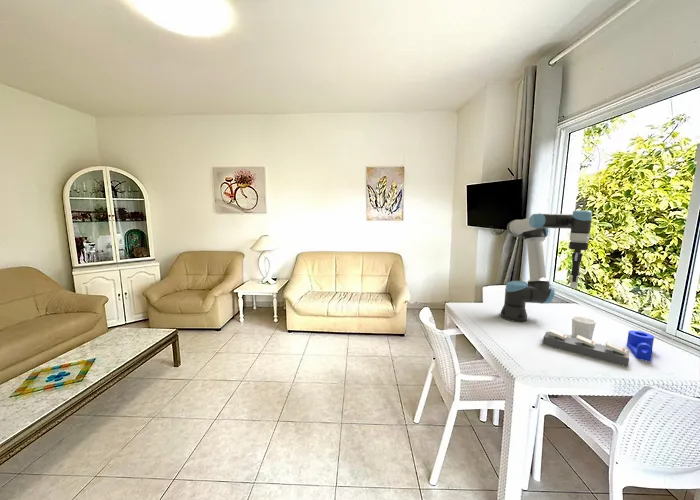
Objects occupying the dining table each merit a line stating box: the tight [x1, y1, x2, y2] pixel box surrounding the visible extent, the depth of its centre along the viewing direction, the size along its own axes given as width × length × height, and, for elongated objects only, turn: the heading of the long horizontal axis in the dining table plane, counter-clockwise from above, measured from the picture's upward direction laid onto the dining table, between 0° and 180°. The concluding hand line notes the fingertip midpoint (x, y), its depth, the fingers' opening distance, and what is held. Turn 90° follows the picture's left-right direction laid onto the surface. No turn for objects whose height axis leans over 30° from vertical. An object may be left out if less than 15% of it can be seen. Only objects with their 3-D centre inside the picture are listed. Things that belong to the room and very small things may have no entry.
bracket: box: [626, 329, 655, 362], centre depth 143 cm, size 20×9×8 cm, turn 141°
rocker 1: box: [548, 328, 568, 340], centre depth 150 cm, size 7×4×1 cm, turn 48°
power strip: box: [542, 331, 630, 367], centre depth 143 cm, size 32×9×5 cm, turn 48°
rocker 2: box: [575, 335, 596, 347], centre depth 142 cm, size 7×4×1 cm, turn 48°
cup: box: [571, 316, 597, 341], centre depth 159 cm, size 10×10×10 cm
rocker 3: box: [605, 341, 627, 355], centre depth 135 cm, size 7×4×1 cm, turn 48°
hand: (573, 287), depth 149 cm, fingers closed
